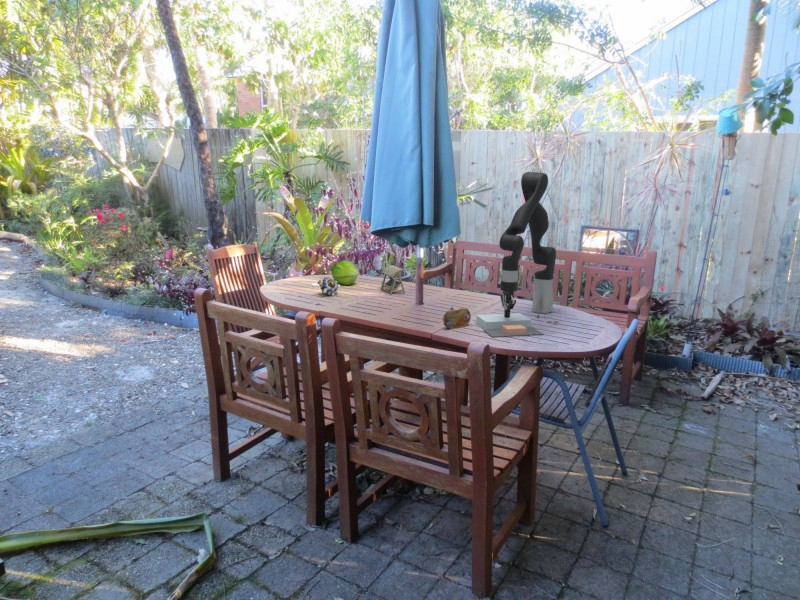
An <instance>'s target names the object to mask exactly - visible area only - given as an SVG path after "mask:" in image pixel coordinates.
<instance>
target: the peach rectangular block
mask: <svg viewBox="0 0 800 600" xmlns="http://www.w3.org/2000/svg"><path fill="white" fill-rule="evenodd" d="M526 329H527V328H525V327H524V326H522V325H521V324H520V325H502V331H503V332H504V333H505V334H507V335H511V334H526Z"/></svg>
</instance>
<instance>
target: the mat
mask: <svg viewBox="0 0 800 600" xmlns="http://www.w3.org/2000/svg"><path fill="white" fill-rule="evenodd" d="M483 331H484V333H486V334H487V335H488V336H489V337H491V338H492V339H493V338H494V339H495V338H508V337H509V338H511V337H512V338H513V337H529V336H530V335H532V336H533V337H534V336H544V334H545V333H544V332H542V331H540V330H538V329H537V328H535V327H531V328H527V329H526V334H511V335H507V334H505V333H504V332H503V331H502V329H493V330H484V329H483ZM532 336H531V337H532Z"/></svg>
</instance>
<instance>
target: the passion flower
mask: <svg viewBox="0 0 800 600" xmlns="http://www.w3.org/2000/svg"><path fill="white" fill-rule="evenodd" d="M317 284H318V285H319V287H320V290H321V293H322V294H324V292H325V293H326V294H327V295H328V296H330V295H331V296H332V297H334V296H335V293H337V294H338V293H339V289H338V288H340V287H341V284H339V283H338V282H337V281H335V279H334V278H333V276H331V277H329V276H327V275H324V277H323V279H322V280H321V279H319V280H318V281H317Z"/></svg>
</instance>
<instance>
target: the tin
mask: <svg viewBox="0 0 800 600" xmlns="http://www.w3.org/2000/svg"><path fill="white" fill-rule="evenodd" d="M471 318H472V316H471V312H470V310H469V309H467V308H464V307H461V308H456V309H455V308H454V309H450V310H447V311H446V312H445V313H444V314H443V318H442V322H443V326H444V327H445V328H446V329H450V330H454V329H458V328H463V327H466V326H468V325H469V323H470V321H471Z"/></svg>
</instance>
